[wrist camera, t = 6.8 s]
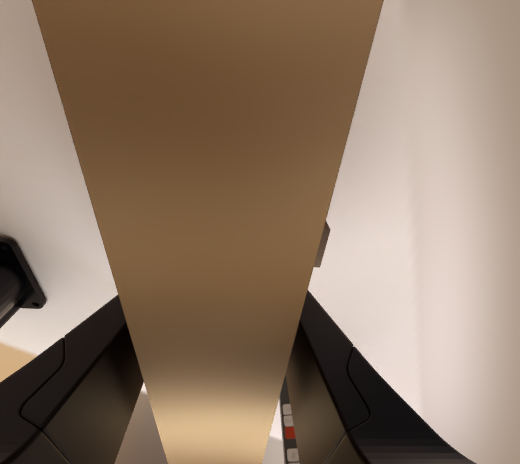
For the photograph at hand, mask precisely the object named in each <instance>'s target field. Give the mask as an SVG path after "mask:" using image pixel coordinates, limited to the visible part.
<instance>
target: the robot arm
mask: <svg viewBox="0 0 520 464" xmlns="http://www.w3.org/2000/svg"><path fill="white" fill-rule="evenodd" d="M45 304H46V300H45V298H44V296H43V294H42V292H41V290H40V288H39V286H38V284H37V283H36V281H35V279H34V277H33V275H32V273H31V271H30V269H29V267H28V265H27V263H26V262H25V260H24V258H23V256H22V254H21V252H20V250H19V248H18V246H17V244H16V243H15V242H14V241H13V240H11V239H8V238H0V328H1V327H2V326H3V325H4V324H5V323H6V322H7V321H8V320H9V319H10V318H11V317H12V316H13V315H14V314H15V313H16V312H17V311H18V310H19V308H32V309H41V308H42V307H43V306H44V305H45ZM285 374H286V381H287V387H288V393H289V399H290V406H291V412H292V418H293V424H294V431H295V437H296V443H297V450H298V456H299V462H300V464H476V463H474V462H473V461H471V460H469V459H468V458H466V457H465V456H463V455H462V454H460V453H459V452H458V451H456V450H455V449H454V448H453V447H451V446H450V445H449V444H448V443H447V442H445V441H444V440H443V439H442V438H441V437H440V436H439V435H438V434H436V432H435V431H434V430H433V429H432V428H431V427H430V426H429V425H428V424H427V423H426V422H425V421H424V420H423V419H422V418H421V417H420V416H419V415H418V414H417V413H416V412H415V411H414V410H413V409H412V408H411V407H410V406H409V405H408V404H407V403H406V402H405V401H404V400H403V399H402V398H401V397H400V396H399V395H398V394H397V393H396V392H395V391H394V390H393V389H392V388H391V386H390V385H389V384H388V383H387V382H386V381H385V380H384V379H383V378H382V377H381V376H380V375H379V374H378V373H377V372H376V371H375V369H374V368H373V367H372V366H371V365H370V364H369V362H368V361H367V360H366V359H365V358H364V357H363V356H362V354H361V353H360V352H359V351H358V350H357V348H356V347H353V344H352V342H351V341H350V340H349V339H348V338H347V336H346V335H345V334H344V333H343V332H342V330H341V329H340V328H339V327H338V326H337V324H336V323H335V322H334V321H333V320H332V318H331V317H330V316H329V315H328V314H327V312H326V311H325V310H324V309H323V308H322V306H321V305H320V304H319V303H318V301H317V300H316V299H315V298H314V297H313V295H312V294H311V293H310V292H309V291H308V290H307V294H306V297H305V301H304V305H303V309H302V313H301V316H300V320H299V324H298V328H297V332H296V335H295V339H294V343H293V347H292V351H291V354H290V358H289V362H288V366H287V370H286V373H285ZM143 382H144V380H143V376H142V373H141V370H140V366H139V363H138V359H137V356H136V353H135V349H134V346H133V342H132V339H131V336H130V332H129V329H128V325H127V322H126V319H125V315H124V312H123V308H122V305H121V302H120V298H119V295H117V296H116V297H114V298H113V299H112V300H110V301H109V302H108V303H106V304H105V305H104V306H103V307H101V308H100V309H99V310H97V311H96V312H95V313H94V314H92V315H91V316H90V317H88V318H87V319H86V320H84V321H83V322H82V323H81V324H79V325H78V326H77V327H75V328H74V329H73V330H71V331H70V332H69V333H68V334H66V335H65V337H64V338H61V339H60V340H58V341H57V342H56V343H54V344H53V345H52V346H51V347H49V348H48V349H47V350H45V351H44V352H43V353H41V354H40V355H38V356H37V357H36V358H34V360H32V361H31V362H29V363H28V364H26V365H25V366H23V367H22V368H21V369H19V370H18V371H16V372H15V373H13V374H12V375H10V376H9V377H8V378H6V379H5V380H3V381H2V382H0V464H114V463H115V460H116V457H117V455H118V452H119V449H120V446H121V443H122V441H123V438H124V435H125V432H126V430H127V426H128V424H129V421H130V419H131V415H132V412H133V410H134V407H135V404H136V402H137V399H138V396H139V394H140V391H141V388H142V385H143Z"/></svg>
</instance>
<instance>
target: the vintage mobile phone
mask: <svg viewBox="0 0 520 464" xmlns="http://www.w3.org/2000/svg"><path fill="white" fill-rule="evenodd" d="M279 401H280V414H281V426H282V439H283V451H284V464H300V462H299V456H298V450H297V443H296V437H295V431H294V424H293V418H292V412H291V406H290V399H289V393H288V387H287V381H286V374H285V377H284V381H283V385H282V389H281V392H280V396H279Z"/></svg>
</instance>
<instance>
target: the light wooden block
mask: <svg viewBox="0 0 520 464" xmlns="http://www.w3.org/2000/svg"><path fill="white" fill-rule="evenodd" d="M32 2H33V6H34V9H35V13H36V16H37V19H38V23H39V26H40V30H41V33H42V36H43V40H44V43H45V47H46V50H47V53H48V57H49V60H50V64H51V67H52V70H53V74H54V77H55V81H56V84H57V87H58V91H59V94H60V98H61V101H62V104H63V108H64V111H65V115H66V118H67V121H68V125H69V128H70V132H71V135H72V138H73V142H74V145H75V149H76V152H77V155H78V159H79V162H80V166H81V169H82V172H83V176H84V179H85V183H86V186H87V189H88V193H89V196H90V200H91V203H92V206H93V210H94V213H95V217H96V220H97V223H98V227H99V230H100V234H101V237H102V240H103V244H104V247H105V251H106V254H107V257H108V261H109V264H110V268H111V271H112V274H113V278H114V281H115V285H116V288H117V291H118V295H119V298H120V302H121V305H122V308H123V312H124V315H125V319H126V322H127V325H128V329H129V332H130V336H131V339H132V342H133V346H134V349H135V353H136V356H137V359H138V363H139V366H140V370H141V373H142V376H143V380H144V383H145V387H146V390H147V393H148V397H149V400H150V403H151V407H152V410H153V414H154V417H155V421H156V424H157V427H158V431H159V434H160V438H161V441H162V444H163V448H164V451H165V455H166V458H167V461H168V464H262V461H263V457H264V453H265V449H266V446H267V442H268V438H269V434H270V431H271V427H272V423H273V419H274V415H275V412H276V408H277V404H278V400H279V396H280V392H281V389H282V385H283V381H284V377H285V373H286V370H287V366H288V362H289V358H290V354H291V351H292V347H293V343H294V339H295V335H296V332H297V328H298V324H299V320H300V316H301V313H302V309H303V305H304V301H305V297H306V294H307V290H308V286H309V282H310V278H311V274H312V271H313V267H314V263H315V259H316V255H317V252H318V248H319V244H320V240H321V236H322V233H323V229H324V225H325V221H326V217H327V214H328V210H329V206H330V202H331V198H332V195H333V191H334V187H335V183H336V179H337V176H338V172H339V168H340V164H341V160H342V156H343V153H344V149H345V145H346V141H347V137H348V134H349V130H350V126H351V122H352V118H353V115H354V111H355V107H356V103H357V99H358V96H359V92H360V88H361V84H362V80H363V77H364V73H365V69H366V65H367V61H368V58H369V54H370V50H371V46H372V42H373V39H374V35H375V31H376V27H377V23H378V19H379V16H380V12H381V8H382V4H383V0H32Z"/></svg>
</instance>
